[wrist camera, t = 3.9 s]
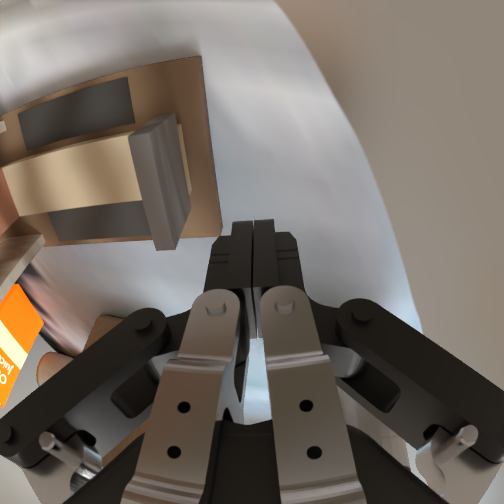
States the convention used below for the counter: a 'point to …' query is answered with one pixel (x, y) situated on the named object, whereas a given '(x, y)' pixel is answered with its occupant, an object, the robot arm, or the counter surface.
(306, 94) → the counter surface
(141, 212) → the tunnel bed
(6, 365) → the orange juice
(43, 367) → the ceramic mug
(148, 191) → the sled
